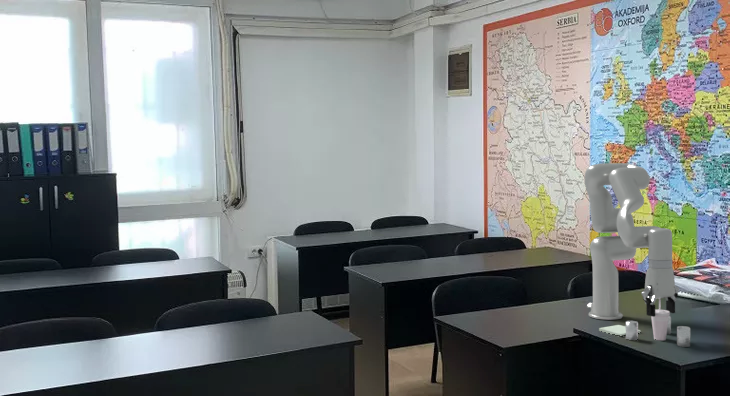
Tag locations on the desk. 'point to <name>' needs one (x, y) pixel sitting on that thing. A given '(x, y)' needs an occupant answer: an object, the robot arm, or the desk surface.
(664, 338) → the smoothie
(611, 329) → the coaster mat
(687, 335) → the set of grey cylinders
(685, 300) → the desk surface
